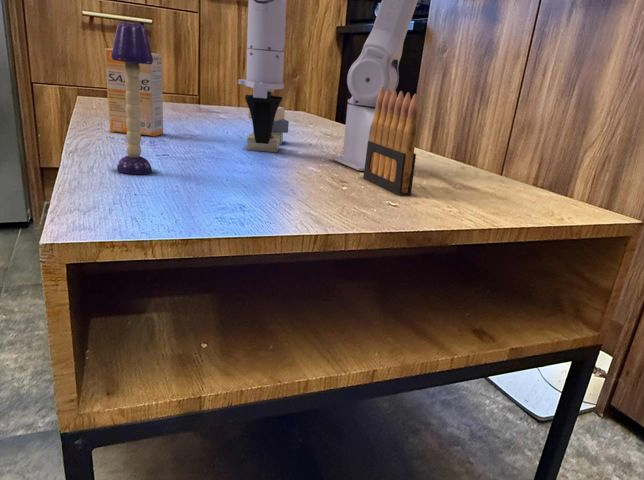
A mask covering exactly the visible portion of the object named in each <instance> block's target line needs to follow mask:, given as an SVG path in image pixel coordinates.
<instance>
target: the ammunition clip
mask: <svg viewBox="0 0 644 480" xmlns="http://www.w3.org/2000/svg"><path fill="white" fill-rule="evenodd" d="M403 92H404V91H402V90H400V91H399V93H398V94H397V89H396V90H394V91H393V92H392V95H391V94H390V89H389V88H388V89H387V91H386V93H385V94H384V89H383V87H382V88H381V89H380V92H379V94H378V98H377V102H376V108H375V114H374V118H373V121H372V129H371V137H370V141H368V144H367V152H366V160H365V168H364V171H363V176H362V177H363V179H365V180H366V181H368V182H370V183H372V184H375V185H376V186H379V187H380V188H382V189H385V190H387V191H388V192H391V193H393V194H395V195H398V196H411V195H412V191H413V190H412V189H413V182H414V173H415V166H416V159H417V153H415V149H416V141H417V136H418V135H417V133H418V125H417V124H418V114H419V97H418V94H417V93H414V94H413V96H412V98H411V94H410V92H409V91H407V93H406V94H405V96H404V93H403Z"/></svg>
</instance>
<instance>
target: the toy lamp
mask: <svg viewBox="0 0 644 480" xmlns="http://www.w3.org/2000/svg"><path fill="white" fill-rule="evenodd" d="M147 33H148V32H147V30H146V27H145V25H143V24H138V23H133V22H125V21H119V22H118V24H117V26H116V30H115V35H114V40H113V45H112V48H111V49H112V55H111V56H112V59H113V60H116V61H122V62H126V63H125V73H126V75H127V76H126V79H125V86H126V89H127V91H126V101H127V105H126V114H127V120H126V127H127V129H128V131H127V133H126V134H125V135H126V137H125V138H126V142H127V144H126V154H127V155H125V156H123V157H122V158H120V160H119V161H118V163H117V166H116V170H117V171H118V172H120V173H123V174H129V175H148V174H152V173H153V169H152V165H151V164H150V162H149V160H148V159H146V158H145V157H143V156H141V154H142V147H141V145H140V144H141V142H142V135H141V134H140V132H139V131H140V129H141V121H140V119H139V117H140V115H141V108H140V105H139V103H140V100H141V97H140V93H139V89H140V79H139V75H140V66H139V64H152V63H153V58H152V54H151V53H152V50H151V46H150V40H149V37H148V34H147Z"/></svg>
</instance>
